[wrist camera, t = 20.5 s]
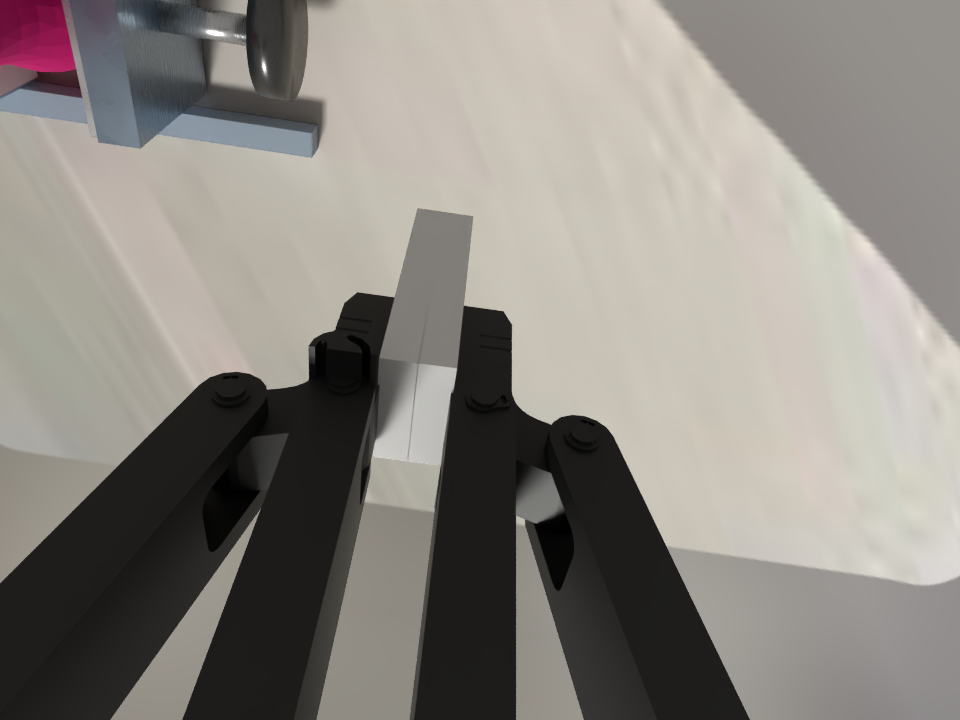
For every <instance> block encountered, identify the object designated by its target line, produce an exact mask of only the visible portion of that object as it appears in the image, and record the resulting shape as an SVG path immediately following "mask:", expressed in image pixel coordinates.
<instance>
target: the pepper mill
mask: <svg viewBox="0 0 960 720" xmlns="http://www.w3.org/2000/svg"><path fill="white" fill-rule="evenodd" d="M1 65H14V66H17V67H21V68H25V69H29V70H34V71H39V72H66V71H70V70H75V69H76V65H75V61H74V56H73V51H72V47H71V42H70V38H69V33H68V28H67V24H66V19H65V14H64V10H63V5H62V0H0V66H1Z"/></svg>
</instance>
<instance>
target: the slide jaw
mask: <svg viewBox="0 0 960 720" xmlns="http://www.w3.org/2000/svg"><path fill="white" fill-rule="evenodd" d="M62 5H63V10H64V14H65V19H66V24H67V28H68V33H69V38H70V42H71V47H72V51H73V56H74V61H75V65H76V70H77V75H78V79H79V84H80V89H81V93H82V98H83V103H84V107H85V112H86V116H87V121H88V126H89V130H90V135H91V137H96V138H98V142H100V143H107V144H113V145H120V146H127V147H134V148H142V147H143V146H144V145H145V144H146V143H148V142H149V141H150V140H151V139H152V138H154V137H155V136H156V135H157V134H158V133H160V132H161V131H162V130H163V129H164V128H165V127H167V126H168V125H169V124H170V123H171V122H173V121H174V120H175V119H176V118H177V117H179V116H180V115H181V114H182V113H183V112H185V111H186V110H187V109H188V108H189V107H191V106H192V105H193V104H194V103H195V102H197V101H198V100H199V99H200V98H201V97H203V96H204V95H205V94H206V93H207V91H206V81H205V72H204V62H203V52H202V43H201V39H208V40H214V41H220V42H227V43H233V44H239V45H245V46H246V48H247V59H248V66H249V72H250V76H251V80H252V83H253V86H254V88H255V90H256V92H257V93H258V95H259V96H261V97H265V98H272V99H278V100H285V101H293V100H294V99H295V98H296V97H297V95H298V93H299V91H300V88H301V85H302V81H303V77H304V71H305V65H306V57H307V45H308V12H307V1H306V0H248V6H247V15H246V14H240V13H233V12H227V11H221V10H215V9H209V8H202V7H198V5H197V0H62Z"/></svg>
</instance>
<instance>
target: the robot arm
mask: <svg viewBox="0 0 960 720" xmlns="http://www.w3.org/2000/svg"><path fill="white" fill-rule="evenodd" d="M472 223H473V216H467V215H460V214H453V213H447V212H440V211H433V210H426V209H420V208H418V209H417V213H416V217H415V221H414V225H413V228H412V232H411V236H410V240H409V244H408V248H407V252H406V256H405V260H404V263H403V267H402V271H401V275H400V279H399V283H398V287H397V291H396V295H395V298H394V297H387V296H380V295H372V294H365V293H358V292H357V293H356V294H355V295H354V296H353V297H351V298H350V299H349V300H348V301H347V302H345V303H344V306H343V309H342V312H341V314H340V319H339V320H338V323H337V326H336V330H335V331H332V332H328V333H324V334H322V335H320V336H318V337H316V338H315V339H314V340H313V341H312V342H311V344H310V345H309V381H307V382H305V383H303V384H300V385H297V386H294V387H288V388H281V389H270V390H267V389H266V386H265V384H264V383H263V382H262V381H261V380H260V379H259V378H257V377H255V376H253V375H251V374H247V373H240V372H230V373H222V374H219V375H216V376H213V377H210V378H209V379H207V380H206V381H204V382H203V383H201V384H200V385H199V386H198V387H197V388H196V389H195V390H194V391H193V392H192V393H191V394H190V395H189V396H188V397H187V398H186V399H185V400H184V401H183V402H182V403H181V404H180V405H179V406H178V407H177V408H176V409H175V410H174V411H173V412H172V413H171V414H170V415H169V416H168V417H167V418H166V419H165V420H164V421H163V422H162V423H161V424H160V425H159V426H158V427H157V428H156V429H155V430H154V431H153V432H152V433H151V434H150V435H149V436H148V437H147V438H146V439H145V440H144V441H143V442H142V443H141V444H140V445H139V446H138V447H137V448H136V449H135V450H134V451H133V452H132V453H131V454H130V455H129V456H128V457H127V458H126V459H125V460H124V461H123V462H122V463H121V464H120V465H119V466H118V467H117V468H116V469H115V470H114V471H113V472H112V473H111V474H110V475H109V476H108V477H107V478H106V479H105V480H104V481H103V482H102V483H101V484H100V485H99V486H98V487H97V488H96V489H95V490H94V491H93V492H92V493H91V494H90V495H89V496H88V497H87V498H86V499H85V500H84V501H82V502H81V503H80V505H79V506H77V508H75V509H74V511H72V513H71V514H69V516H68V517H66V518H65V520H63V521H62V522H61V524H59V525H58V527H57V528H55V529H54V531H52V532H51V534H50V535H48V536H47V537H46V539H44V540H43V541H42V542H41V544H39V545H38V546H37V547H36V549H34V550H33V551H32V552H31V553H30V554H29V555H28V556H27V557H26V558H25V559H24V560H23V561H22V562H21V563H20V564H19V565H18V567H16V568H15V569H14V570H13V571H12V572H11V573H10V574H9V575H8V576H7V577H6V578H5V579H4V580H3V581H2V582H1V583H0V720H110V719H111V718H112V716H113V715H114V713H115V712H116V711H117V709H118V708H119V707H120V705H121V704H122V702H123V701H124V700H125V698H126V697H127V695H128V694H129V693H130V691H131V690H132V688H133V687H134V685H135V684H136V683H137V681H138V680H139V678H140V677H141V676H142V674H143V673H144V671H145V670H146V669H147V667H148V666H149V664H150V663H151V661H152V660H153V659H154V657H155V656H156V655H157V653H158V652H159V650H160V649H161V648H162V646H163V645H164V643H165V642H166V641H167V639H168V638H169V636H170V635H171V634H172V632H173V631H174V629H175V628H176V627H177V625H178V623H179V622H180V621H181V620H182V618H183V617H184V615H185V614H186V613H187V611H188V610H189V608H190V607H191V606H192V604H193V603H194V601H195V600H196V599H197V597H198V596H199V594H200V593H201V591H202V590H203V589H204V587H205V586H206V584H207V583H208V582H209V580H210V579H211V577H212V576H213V575H214V573H215V572H216V570H217V569H218V568H219V566H220V565H221V563H222V562H223V561H224V559H225V558H226V556H227V555H228V554H229V552H230V551H231V549H232V548H233V547H234V545H235V544H236V542H237V541H238V540H239V538H240V537H241V535H242V534H243V532H244V531H245V530H246V528H247V527H248V525H249V524H250V522H251V521H252V520H253V519H254V517H255V515H256V514H257V513H258V512H259V510H260V509H261V510H260V513H259V516H258V518H257V521H256V523H255V526H254V529H253V531H252V534H251V537H250V539H249V542H248V545H247V548H246V550H245V553H244V556H243V559H242V561H241V564H240V566H239V569H238V572H237V574H236V577H235V580H234V583H233V585H232V588H231V591H230V594H229V596H228V599H227V601H226V604H225V607H224V609H223V612H222V615H221V618H220V620H219V623H218V626H217V628H216V631H215V634H214V637H213V639H212V642H211V644H210V647H209V650H208V653H207V655H206V658H205V661H204V663H203V666H202V669H201V671H200V674H199V677H198V679H197V682H196V685H195V687H194V690H193V693H192V696H191V698H190V701H189V704H188V707H187V709H186V712H185V714H184V717H183V720H316V719H317V714H318V710H319V705H320V701H321V696H322V692H323V687H324V683H325V678H326V673H327V669H328V664H329V660H330V655H331V651H332V646H333V641H334V637H335V632H336V628H337V624H338V619H339V614H340V610H341V605H342V601H343V596H344V592H345V587H346V583H347V578H348V574H349V569H350V565H351V560H352V555H353V551H354V546H355V542H356V537H357V532H358V528H359V523H360V519H361V514H362V510H363V506H364V501H365V496H366V492H367V487H368V483H369V478H370V467H371V457H372V453H373V457H377V458H385V459H393V460H401V461H409V462H416V463H424V464H432V465H440V466H441V468H440V474H439V481H438V487H437V494H436V501H435V507H434V508H435V513H434V523H433V530H432V539H431V547H430V555H429V563H428V572H427V580H426V588H425V596H424V597H425V598H424V605H423V613H422V621H421V630H420V638H419V646H418V655H417V664H416V671H415V680H414V688H413V697H412V705H411V713H410V720H516V516H519V517H521V518H524V519H525V526H526V529H527V532H528V535H529V539H530V542H531V545H532V549H533V552H534V555H535V559H536V562H537V565H538V569H539V572H540V575H541V579H542V582H543V585H544V589H545V592H546V595H547V599H548V602H549V605H550V609H551V612H552V615H553V618H554V621H555V625H556V628H557V632H558V635H559V638H560V642H561V645H562V648H563V652H564V655H565V658H566V661H567V664H568V668H569V671H570V675H571V678H572V681H573V685H574V688H575V691H576V695H577V698H578V701H579V705H580V708H581V711H582V714H583V718H584V720H750V719H749V717H748V715H747V713H746V711H745V709H744V707H743V705H742V702H741V700H740V698H739V696H738V694H737V692H736V690H735V688H734V686H733V684H732V682H731V680H730V678H729V676H728V673H727V671H726V670H725V667H724V665H723V663H722V661H721V659H720V657H719V655H718V653H717V651H716V649H715V647H714V644H713V642H712V640H711V639H710V636H709V634H708V632H707V630H706V628H705V626H704V624H703V622H702V619H701V617H700V615H699V613H698V612H697V609H696V607H695V605H694V603H693V601H692V599H691V597H690V595H689V592H688V591H687V588H686V586H685V584H684V582H683V580H682V578H681V576H680V574H679V572H678V570H677V568H676V566H675V564H674V561H673V559H672V557H671V555H670V553H669V551H668V549H667V547H666V545H665V543H664V541H663V539H662V536H661V534H660V532H659V530H658V528H657V526H656V524H655V522H654V520H653V518H652V516H651V514H650V512H649V510H648V507H647V505H646V503H645V501H644V499H643V497H642V495H641V493H640V491H639V489H638V487H637V485H636V483H635V480H634V478H633V476H632V474H631V472H630V470H629V468H628V466H627V464H626V462H625V460H624V458H623V456H622V454H621V451H620V449H619V447H618V445H617V443H616V441H615V439H614V437H613V436H612V434H611V433H610V432H609V430H608V429H607V428H606V427H605V426H603V425H602V424H600V423H599V422H598V421H596V420H593V419H590V418H588V417H585V416H576V415H570V416H565V417H561V418H559V419H558V420H556V421H555V422H553V424H552V425H550V424H548V423H545V422H542V421H540V420H537V419H535V418H533V417H531V416H529V415H528V414H526V413H525V412H524V411H522V410H521V409H520V408H519V407H518V405H517V404H516V403H515V401H514V397H513V396H512V352H511V351H512V341H511V340H512V324H511V323H510V321H509V320H508V318H507V316H506V315H505V313H504V312H503V311H497V310H490V309H483V308H476V307H468V306H464V298H465V289H466V279H467V270H468V260H469V251H470V242H471V232H472Z"/></svg>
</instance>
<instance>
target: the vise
mask: <svg viewBox="0 0 960 720" xmlns="http://www.w3.org/2000/svg"><path fill="white" fill-rule="evenodd" d="M36 77H38V74H37V71H34V70H29V69H25V68H21V67H17V66H14V65H1V66H0V111H5V112H12V113H18V114H25V115H32V116H38V117H45V118H51V119H58V120H65V121H71V122H78V123H85V124H88V121H87V116H86V112H85V107H84V103H83V98H82V93H81V89H80V88H74V87H68V86H61V85H55V84H48V83H42V82H35V81H34V78H36ZM158 135H164V136H171V137H178V138H184V139H191V140H197V141H204V142H211V143H217V144H224V145H231V146H237V147H244V148H250V149H257V150H264V151H270V152H277V153H284V154H290V155H297V156H304V157H310V158H312V157H313V155H314V154H315V152H316V151H317V149H318V125H315V124H309V123H302V122H296V121H289V120H283V119H276V118H270V117H263V116H257V115H250V114H244V113H237V112H231V111H224V110H218V109H211V108H205V107H198V106H191V107H189V108H188V109H187V110H186V111H185V112H183V113H182V114H181V115H180V116H179V117H177V118H176V119H175V120H174V121H173V122H171V123H170V124H169V125H168V126H167V127H165V128H164V129H163V130H162V131H161V132H160V133H158Z"/></svg>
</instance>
